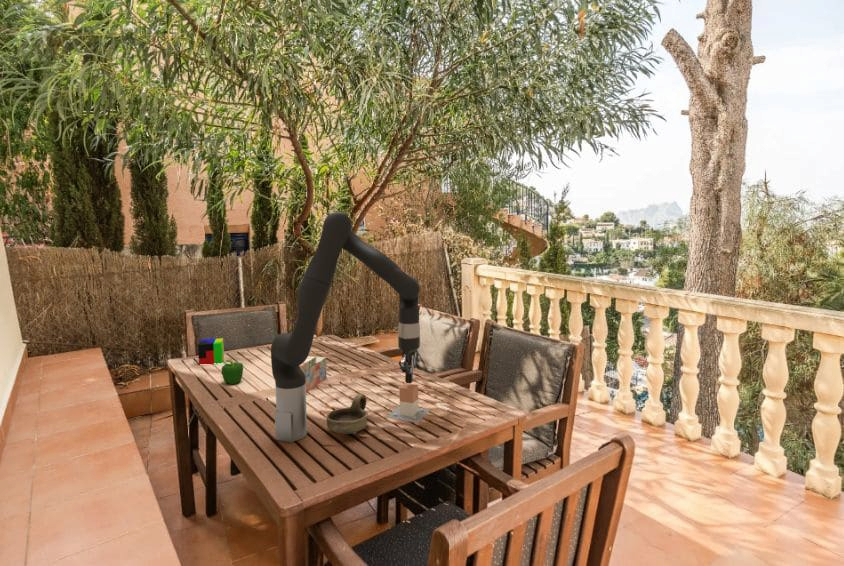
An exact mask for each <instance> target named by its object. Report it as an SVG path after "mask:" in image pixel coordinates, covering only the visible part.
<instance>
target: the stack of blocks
mask: <svg viewBox="0 0 844 566" xmlns="http://www.w3.org/2000/svg"><path fill="white" fill-rule="evenodd" d="M326 360H327V357H326V356H314V355H312V356H310V355H308V357H307V359H306V360H305V361H304V362H303V363H302V364H301V365H299V367H300V369H301V370H302V371H303V373H304V374H305V378H306V393H308V392H309V391H310V390H312V388H314V387H315V386H316V385H318V384H319V383H321V382H322V381H324V380H325V379H326V378H327V361H326ZM324 378H325V379H324ZM317 383H318V384H317ZM313 386H314V387H313Z"/></svg>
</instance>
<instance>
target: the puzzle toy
mask: <svg viewBox="0 0 844 566" xmlns="http://www.w3.org/2000/svg"><path fill="white" fill-rule="evenodd" d="M224 350H225V347H224V337H221V338H219V337H218V338H209V339H208V338H206V339H200V341H199V342H198V344H197V351H198V353H197V354H198V365H199V364H210V365H214V364H213V363H222V364H223V362H224V359H225V351H224Z"/></svg>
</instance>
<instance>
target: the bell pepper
mask: <svg viewBox="0 0 844 566" xmlns="http://www.w3.org/2000/svg"><path fill="white" fill-rule="evenodd" d="M225 362H226V363H225V364H224V365H222V367H221V375H222V379H223V381H224V383H225V382H226V384H230V385H236V383H237V384H239V383H240V382H241V380H242V377H243V373H244V364H243V363H242V362H241V363H239V362H234V361H233V360H231V359H225ZM228 362H229V363H228Z"/></svg>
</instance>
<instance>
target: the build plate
mask: <svg viewBox="0 0 844 566" xmlns="http://www.w3.org/2000/svg"><path fill="white" fill-rule="evenodd" d="M430 411H431V409H430V408H425V407H419V406H418V412H417V413H416V414H415V415H414V416H413V417H410V416H404V415H400V404H399V405H398V406H397V407H395V408H394V409H393V410H392V411H391V412H390V413H389V414H388V415H387V416H386V418H389V419H393V420H394V419H395V420H399V421H406V422H411V423H416V424H419V423H420V422H421V421H422V419H424V418H425V416H427V414H428V413H429V412H430Z"/></svg>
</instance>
